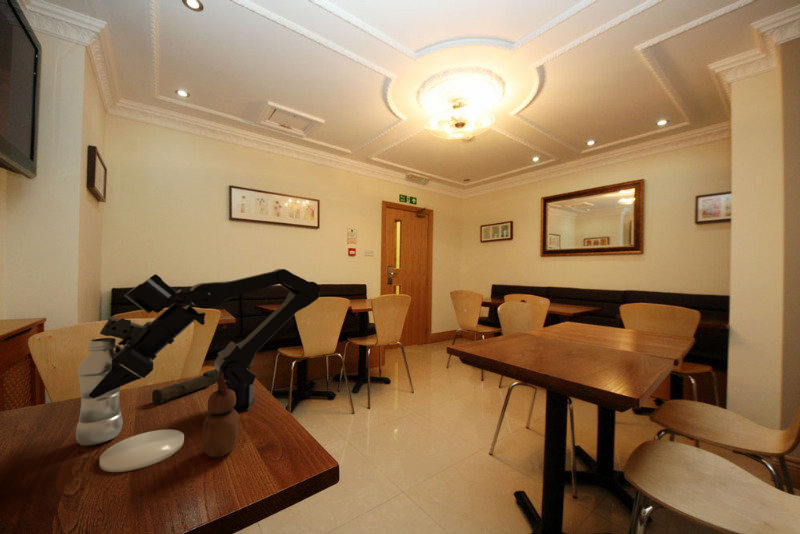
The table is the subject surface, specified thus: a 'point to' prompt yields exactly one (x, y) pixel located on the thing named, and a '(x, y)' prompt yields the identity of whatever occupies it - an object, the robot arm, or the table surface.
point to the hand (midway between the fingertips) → (93, 389)
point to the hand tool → (184, 387)
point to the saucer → (141, 450)
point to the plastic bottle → (103, 411)
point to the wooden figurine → (221, 421)
